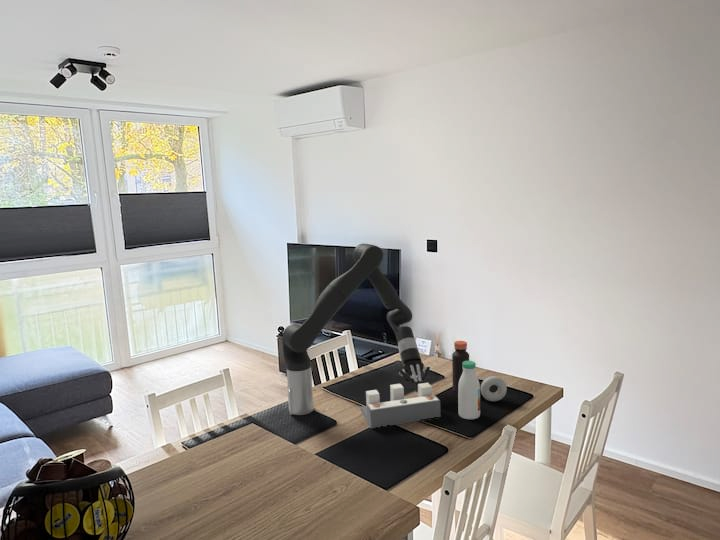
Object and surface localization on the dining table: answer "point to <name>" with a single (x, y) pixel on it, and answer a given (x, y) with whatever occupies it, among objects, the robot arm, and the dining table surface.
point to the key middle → (396, 392)
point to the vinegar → (458, 361)
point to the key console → (401, 411)
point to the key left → (372, 397)
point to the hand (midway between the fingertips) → (420, 392)
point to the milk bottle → (469, 392)
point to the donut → (488, 383)
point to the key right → (424, 389)
